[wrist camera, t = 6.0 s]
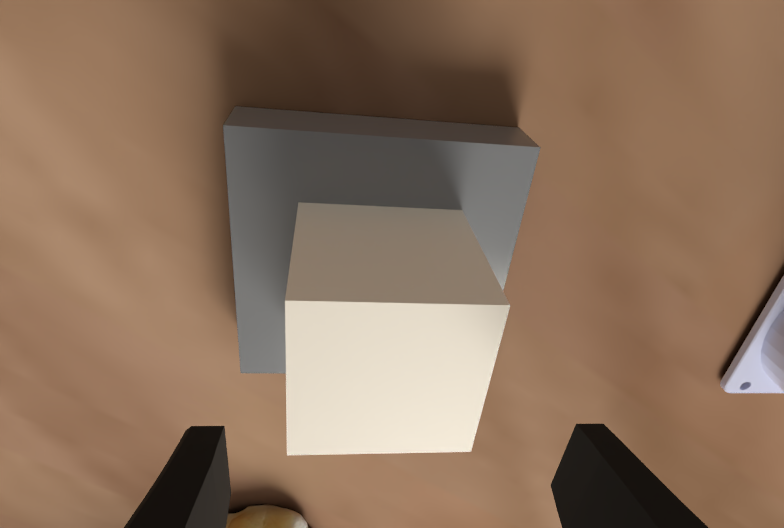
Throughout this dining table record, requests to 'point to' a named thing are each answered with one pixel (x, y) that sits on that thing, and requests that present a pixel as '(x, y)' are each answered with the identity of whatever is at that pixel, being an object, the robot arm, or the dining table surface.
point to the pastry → (266, 518)
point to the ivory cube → (388, 330)
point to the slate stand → (356, 194)
